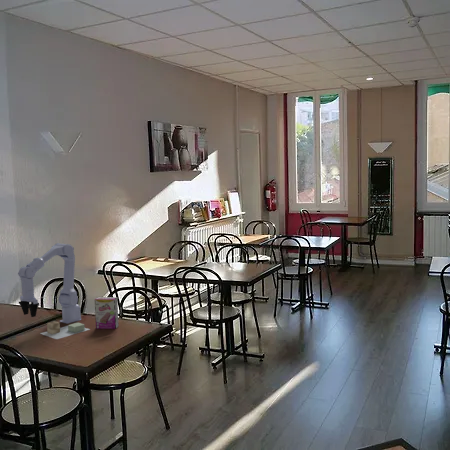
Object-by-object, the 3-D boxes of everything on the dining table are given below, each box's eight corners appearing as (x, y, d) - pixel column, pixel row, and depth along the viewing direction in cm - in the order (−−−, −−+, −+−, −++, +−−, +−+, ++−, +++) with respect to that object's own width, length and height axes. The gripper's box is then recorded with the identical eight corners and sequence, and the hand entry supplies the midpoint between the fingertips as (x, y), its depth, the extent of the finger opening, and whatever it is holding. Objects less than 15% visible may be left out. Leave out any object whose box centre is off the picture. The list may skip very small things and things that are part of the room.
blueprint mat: (73, 324, 287) (73, 324, 287) (90, 330, 277) (90, 329, 277) (39, 334, 272) (39, 333, 272) (56, 340, 262) (56, 339, 262)
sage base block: (78, 327, 280) (77, 322, 279) (84, 329, 276) (84, 324, 275) (68, 330, 275) (67, 325, 275) (74, 332, 271) (74, 327, 271)
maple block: (55, 330, 276) (54, 321, 276) (60, 332, 274) (59, 322, 273) (47, 332, 273) (47, 323, 273) (52, 334, 270) (51, 324, 270)
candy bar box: (95, 329, 278) (93, 299, 276) (98, 326, 282) (97, 296, 281) (116, 329, 276) (114, 299, 275) (119, 326, 281) (117, 296, 280)
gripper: (13, 289, 272) (15, 314, 274) (27, 293, 263) (29, 319, 264) (26, 286, 278) (28, 311, 279) (40, 290, 268) (42, 316, 270)
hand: (29, 315), depth 272 cm, fingers open, 7 cm apart
